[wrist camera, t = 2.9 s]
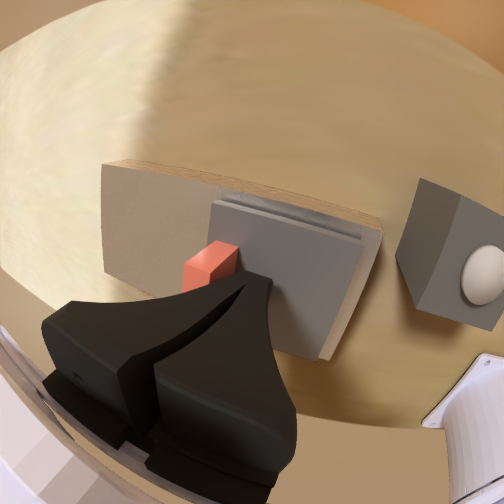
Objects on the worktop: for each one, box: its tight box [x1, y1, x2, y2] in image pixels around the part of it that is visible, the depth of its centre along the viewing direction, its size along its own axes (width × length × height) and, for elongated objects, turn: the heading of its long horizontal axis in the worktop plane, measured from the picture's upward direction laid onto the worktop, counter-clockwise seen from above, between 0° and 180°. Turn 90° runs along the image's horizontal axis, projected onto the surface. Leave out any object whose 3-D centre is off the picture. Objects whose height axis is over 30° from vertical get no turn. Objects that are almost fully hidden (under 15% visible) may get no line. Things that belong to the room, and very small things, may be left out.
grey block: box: [395, 178, 504, 332], centre depth 8 cm, size 4×4×5 cm
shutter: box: [182, 200, 364, 362], centre depth 10 cm, size 6×6×3 cm
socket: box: [101, 159, 384, 361], centre depth 14 cm, size 14×7×2 cm, turn 79°
